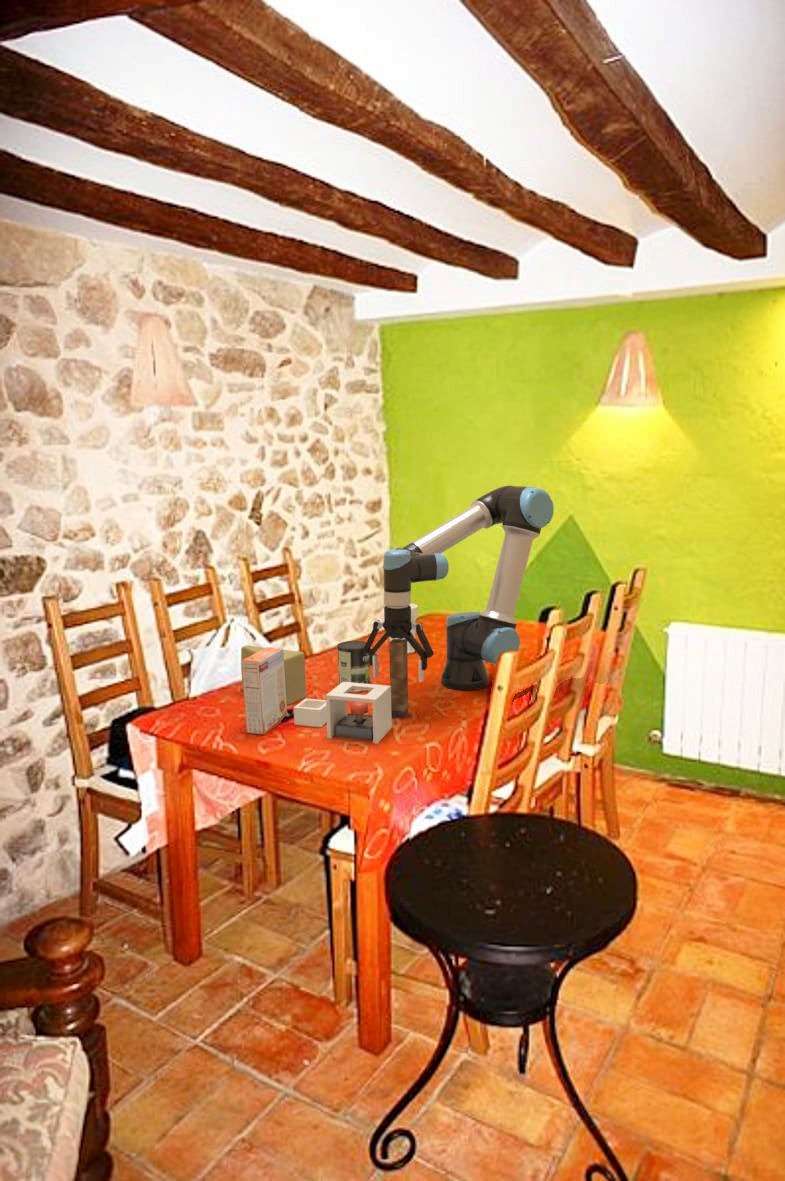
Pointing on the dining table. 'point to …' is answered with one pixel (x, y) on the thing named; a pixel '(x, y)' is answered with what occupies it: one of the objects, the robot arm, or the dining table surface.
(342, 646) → the coffee can
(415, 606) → the cup
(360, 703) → the red round piece
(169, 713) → the dining table surface
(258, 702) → the cracker box
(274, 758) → the dining table surface
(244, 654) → the beige block
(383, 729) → the guard
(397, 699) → the brown wooden dowel
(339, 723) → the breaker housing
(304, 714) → the holder
